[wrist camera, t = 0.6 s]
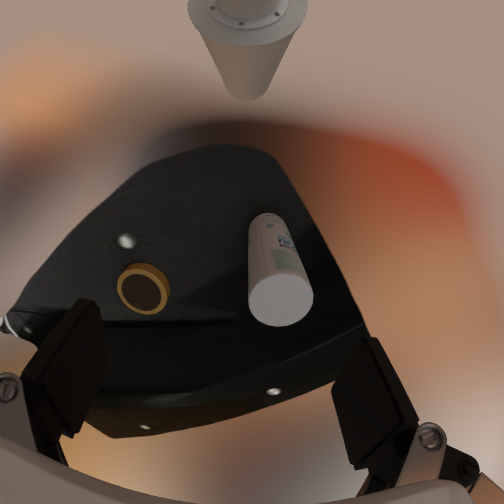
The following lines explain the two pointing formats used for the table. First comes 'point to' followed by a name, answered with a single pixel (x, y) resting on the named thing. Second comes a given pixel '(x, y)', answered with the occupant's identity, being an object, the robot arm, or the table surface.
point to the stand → (143, 288)
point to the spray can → (275, 274)
